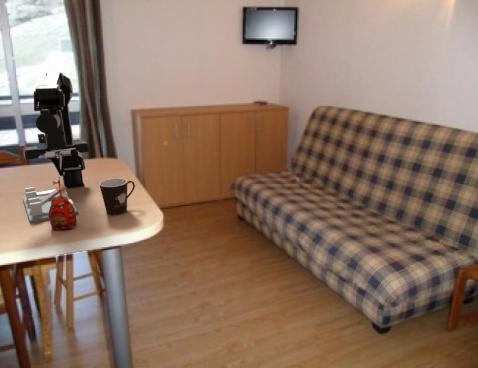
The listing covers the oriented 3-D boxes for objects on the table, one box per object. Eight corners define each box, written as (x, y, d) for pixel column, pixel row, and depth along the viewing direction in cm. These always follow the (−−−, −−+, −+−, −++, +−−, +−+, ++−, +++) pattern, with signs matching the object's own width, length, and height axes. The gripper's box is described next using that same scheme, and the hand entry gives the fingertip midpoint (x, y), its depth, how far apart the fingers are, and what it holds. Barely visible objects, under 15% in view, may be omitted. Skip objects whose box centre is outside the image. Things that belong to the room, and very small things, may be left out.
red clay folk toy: (47, 232, 118) (38, 183, 113) (56, 222, 124) (48, 175, 119) (73, 231, 118) (66, 182, 113) (81, 221, 125) (74, 175, 120)
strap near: (64, 185, 133) (62, 183, 132) (66, 188, 130) (64, 186, 130) (36, 206, 130) (33, 204, 130) (37, 210, 127) (35, 207, 127)
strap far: (64, 190, 145) (63, 187, 145) (65, 192, 142) (65, 189, 142) (31, 195, 140) (30, 192, 139) (32, 198, 137) (31, 195, 136)
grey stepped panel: (65, 192, 150) (63, 179, 148) (78, 213, 130) (76, 199, 129) (23, 199, 143) (20, 186, 141) (30, 223, 123) (27, 208, 122)
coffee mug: (105, 218, 126) (101, 188, 123) (100, 209, 133) (97, 180, 130) (142, 211, 131) (139, 182, 128) (135, 203, 138) (133, 175, 135)
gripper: (79, 121, 136) (86, 165, 141) (17, 127, 127) (26, 174, 132) (87, 126, 127) (93, 173, 132) (20, 132, 118) (30, 183, 123)
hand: (61, 175), depth 130 cm, fingers closed
